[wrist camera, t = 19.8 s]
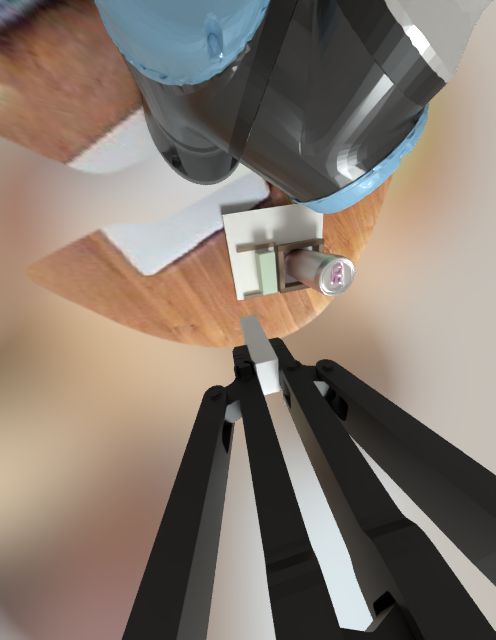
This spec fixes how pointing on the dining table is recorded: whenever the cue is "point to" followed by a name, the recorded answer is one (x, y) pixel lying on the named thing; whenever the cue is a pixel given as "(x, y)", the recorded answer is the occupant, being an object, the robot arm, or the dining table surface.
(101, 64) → the dining table surface
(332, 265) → the beverage can
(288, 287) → the socket
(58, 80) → the dining table surface
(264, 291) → the block
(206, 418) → the robot arm
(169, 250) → the dining table surface
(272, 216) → the board
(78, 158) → the dining table surface
